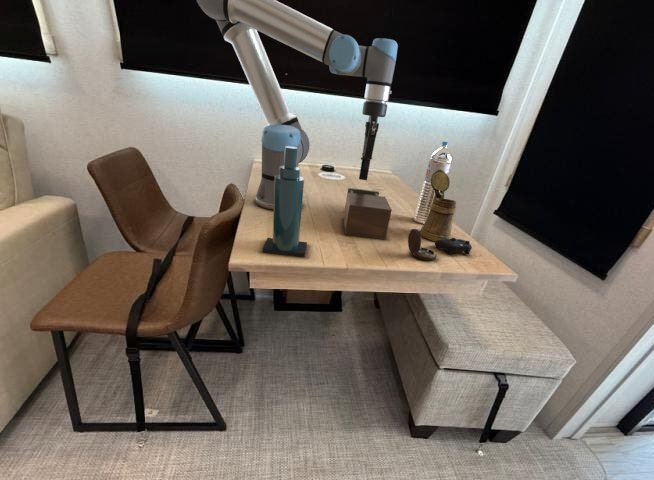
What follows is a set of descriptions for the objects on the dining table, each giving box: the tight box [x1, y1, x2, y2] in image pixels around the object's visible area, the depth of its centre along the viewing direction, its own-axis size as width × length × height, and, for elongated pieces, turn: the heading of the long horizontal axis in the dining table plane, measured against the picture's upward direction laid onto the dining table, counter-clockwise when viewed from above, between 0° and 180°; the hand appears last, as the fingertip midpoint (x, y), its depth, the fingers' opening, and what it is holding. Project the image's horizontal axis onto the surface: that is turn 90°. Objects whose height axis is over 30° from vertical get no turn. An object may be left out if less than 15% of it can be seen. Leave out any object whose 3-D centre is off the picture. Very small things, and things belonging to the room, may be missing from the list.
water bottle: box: [413, 140, 454, 225], centre depth 106 cm, size 7×7×25 cm
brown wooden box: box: [343, 191, 393, 240], centre depth 97 cm, size 14×12×9 cm
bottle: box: [272, 146, 305, 251], centre depth 74 cm, size 6×6×22 cm
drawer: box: [344, 187, 380, 209], centre depth 108 cm, size 17×10×7 cm, turn 178°
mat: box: [262, 237, 308, 258], centre depth 80 cm, size 7×10×1 cm
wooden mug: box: [419, 169, 457, 242], centre depth 98 cm, size 9×14×18 cm, turn 6°
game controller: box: [434, 237, 473, 255], centre depth 91 cm, size 10×5×6 cm
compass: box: [407, 228, 437, 262], centre depth 85 cm, size 8×8×7 cm
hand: (362, 179), depth 115 cm, fingers closed
